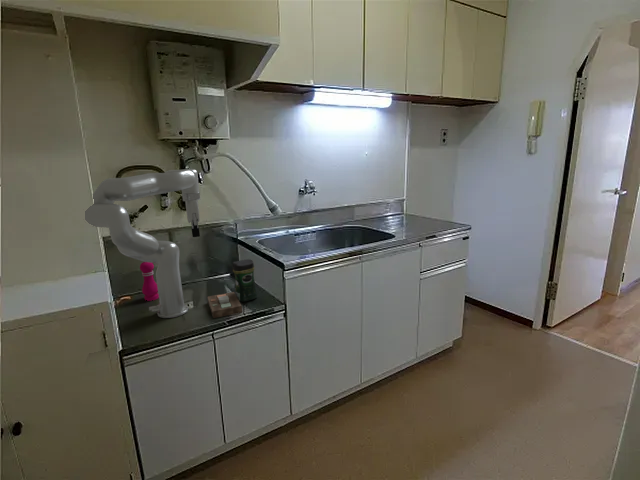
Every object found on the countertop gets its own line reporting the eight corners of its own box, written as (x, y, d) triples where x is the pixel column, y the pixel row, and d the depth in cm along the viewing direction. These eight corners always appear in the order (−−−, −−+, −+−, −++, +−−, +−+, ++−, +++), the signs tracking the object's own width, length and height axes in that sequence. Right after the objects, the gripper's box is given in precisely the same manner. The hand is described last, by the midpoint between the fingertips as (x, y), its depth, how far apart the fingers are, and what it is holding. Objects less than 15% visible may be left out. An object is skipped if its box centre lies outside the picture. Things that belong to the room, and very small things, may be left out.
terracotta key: (218, 304, 166) (218, 298, 166) (217, 301, 170) (216, 295, 169) (227, 303, 168) (227, 297, 167) (226, 299, 172) (225, 294, 171)
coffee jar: (252, 293, 179) (249, 256, 174) (259, 298, 172) (256, 260, 168) (233, 298, 174) (229, 260, 169) (239, 303, 167) (235, 264, 163)
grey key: (220, 306, 161) (219, 300, 161) (218, 303, 165) (218, 297, 164) (229, 304, 163) (228, 298, 162) (228, 301, 166) (227, 295, 166)
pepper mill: (148, 302, 173) (141, 261, 168) (140, 299, 177) (133, 259, 172) (163, 297, 178) (156, 257, 174) (155, 294, 183) (148, 255, 178)
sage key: (222, 314, 157) (221, 307, 156) (221, 310, 160) (220, 304, 160) (232, 312, 158) (231, 305, 157) (230, 308, 162) (229, 302, 161)
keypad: (213, 318, 154) (212, 311, 153) (208, 302, 170) (207, 296, 169) (242, 312, 158) (241, 305, 157) (234, 297, 174) (233, 291, 174)
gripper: (181, 196, 173) (186, 234, 178) (183, 199, 160) (188, 241, 164) (198, 194, 176) (202, 232, 180) (201, 198, 163) (206, 238, 167)
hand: (196, 236), depth 172 cm, fingers closed
